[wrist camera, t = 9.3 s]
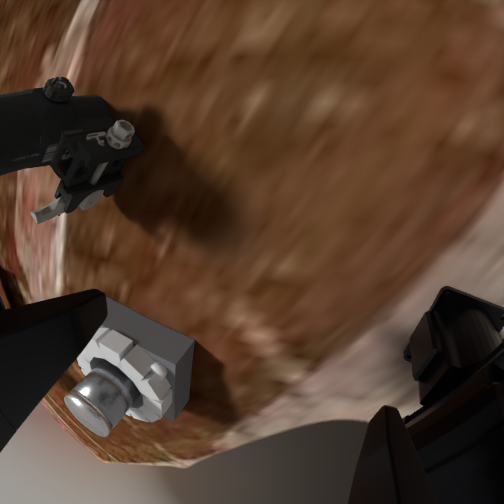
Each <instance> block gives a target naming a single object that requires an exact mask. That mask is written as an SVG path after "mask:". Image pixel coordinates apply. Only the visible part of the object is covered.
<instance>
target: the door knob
mask: <svg viewBox="0 0 504 504" xmlns="http://www.w3.org/2000/svg"><path fill="white" fill-rule="evenodd" d="M140 395H141V393H140V391H139V390H138V388H137V387H136V385H135V384H134V382H133V381H132V380H131V379H130V378H129V377H128V376H127V375H126V374H125V373H124V372H123V371H122V370H121V369H120V368H118V367H117V366H115V365H113V364H112V363H110V362H109V361H107V360H105V359H103V360H102V361H101V362H100V363H99V364H97V365H96V366H95V367H94V368H93V369H92V370H91V371H90V372H89V373H88V374H87V375H86V376H85V377H84V378H83V379H82V380H81V381H80V382H79V383H78V384H77V385H76V386H75V387H74V388H73V389H72V390H71V391H70V392H69V393H68V394H67V395H66V396H65V397H64V401H65V404H66V405H67V407H68V409H69V410H70V411H71V413H72V414H73V415H74V416H75V417H76V418H77V419H78V420H79V421H80V422H81V423H82V424H83V425H84V426H86V427H87V428H88V429H89V430H91V431H92V432H94V433H95V434H97V435H99V436H102V437H106V436H107V435H108V434H109V433H110V432H111V430H112V429H113V428H114V427H115V425H116V424H117V423H118V422H119V421H120V419H121V418H122V417H123V416H124V415H125V413H126V412H127V411H128V410H129V408H130V407H131V406H132V405H133V404H134V402H135V401H136V400H137V399H138V397H139V396H140Z"/></svg>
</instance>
